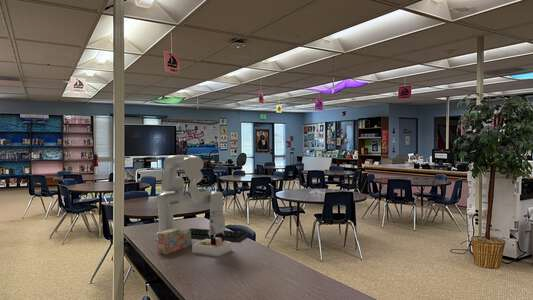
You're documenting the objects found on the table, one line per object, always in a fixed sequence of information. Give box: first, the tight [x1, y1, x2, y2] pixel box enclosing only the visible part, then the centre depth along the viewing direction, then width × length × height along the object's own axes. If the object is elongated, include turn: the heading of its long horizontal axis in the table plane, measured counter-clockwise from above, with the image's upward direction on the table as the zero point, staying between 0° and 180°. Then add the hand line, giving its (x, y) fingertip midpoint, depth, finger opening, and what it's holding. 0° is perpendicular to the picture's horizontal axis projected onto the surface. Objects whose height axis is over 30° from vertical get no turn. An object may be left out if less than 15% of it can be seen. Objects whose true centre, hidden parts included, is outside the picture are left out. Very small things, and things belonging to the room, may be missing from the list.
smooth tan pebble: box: [213, 238, 222, 247], centre depth 213 cm, size 5×5×7 cm
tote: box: [191, 239, 232, 257], centre depth 215 cm, size 18×14×5 cm
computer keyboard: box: [187, 227, 249, 243], centre depth 250 cm, size 45×16×4 cm, turn 70°
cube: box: [199, 239, 212, 247], centre depth 217 cm, size 5×5×5 cm
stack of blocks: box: [157, 227, 192, 255], centre depth 222 cm, size 21×6×12 cm, turn 147°
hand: (217, 243), depth 213 cm, fingers open, 7 cm apart
